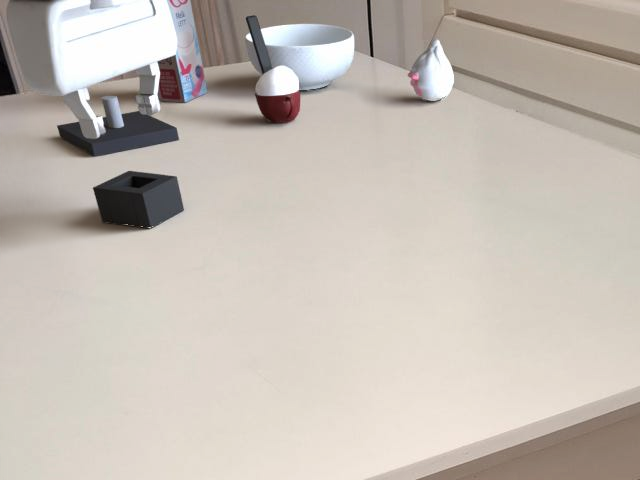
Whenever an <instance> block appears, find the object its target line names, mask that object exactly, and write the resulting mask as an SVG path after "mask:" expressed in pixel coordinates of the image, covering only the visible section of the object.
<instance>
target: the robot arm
mask: <svg viewBox="0 0 640 480" xmlns="http://www.w3.org/2000/svg"><path fill="white" fill-rule="evenodd" d="M5 12H6V14H5V15H6V22H7V27H8V30H9V31H8V32H9V35H10V38H11V42H12V46H13V49H14V52H15V55H16V59H17V63H18V65H19V68H20V71H21V73H22V76H23V79H24V80H25V83H26V84H27V85H28V86H29V87H30V88H31V89H32V90H33V91H34V92H35V93H36V94H37V95H45V96H55V97H56V96H57V97H58V96H59V97H62V99H63V102H64V104H65V105H66V106H67V107H68V109H69V110H70V112H71V113H72V114H73V115H74V117H75V118H76V119H77V120H78V122H79V123H80V127H81V130H82V134H83V135H84V137H86V138H91V139H96V138H98V137H100V136H103V135H105V133H106V130H105V128H104V126H103V124H104V123H103V119H102V117H103V116H102V115H96V114H95V112H94V111H93V109H92V107H91V106H90V104H89V103H88V101H90V100H91V99H90V98H91V97H90V94H89V90H88V87H92V86H94V85H96V84H100V83H102V82H105V81H108V80H111V79H113V78H116V77H118V76H121V75H124V74H127V73H130V72H132V71H134V72H135V75H139V89H138V90H139V93H138V94H137V95H135V96H134V97H135V100H136V101H135V102H136V104H137V108H138V111H140V113H141V114H143V115H149V116H153V115H156V114H157V113H160V111H161V105H160V101H159V100H158V96H157V93H158V86H159V78H160V71H159V66H158V61H160V60H163V59H166V58H169V57H171V56H174V55H175V54H176V50H177V36H176V32H175V28H174V24H173V20H172V17H171V13H170V10H169V6H168V3H167V0H9V1H8V2H7V5H6V10H5Z"/></svg>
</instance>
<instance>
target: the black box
mask: <svg viewBox="0 0 640 480" xmlns="http://www.w3.org/2000/svg"><path fill="white" fill-rule="evenodd" d="M92 189H93V193H94V197H95V200H96V204H97V208H98V212H99V215H100V218H101V222H102V223H105V222H108V223H107V224H112V223H116V224H115V225H119V224H128V225H134V226H143V227H152V226H155V225H157V224H158V223H160V222H162V223H164V222H165V220H166V221H167V220H170V219H171V218H173V217H174V215H175V216H176V215H178V214H180V213H182V212H184V211H185V207H184V202H183V198H182V194H181V193H182V192H181V190H180V184H179V180H178V177H177V175H170V174H169V175H168V174H161V173H160V174H159V173H153V172H143V171H134V170H128V171H125V172H123V173H121V174H118V175H116V176H114V177H112V178H111V179H108V180H106V181H103V182H101V183H100V184H98V185H95V186H93V187H92ZM163 221H164V222H163ZM160 224H161V223H160ZM158 225H159V224H158ZM158 225H157V226H158ZM134 226H133V227H134ZM155 227H156V226H155Z"/></svg>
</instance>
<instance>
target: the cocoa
mask: <svg viewBox="0 0 640 480" xmlns="http://www.w3.org/2000/svg"><path fill="white" fill-rule="evenodd" d="M245 22H246V24H247V28H248V32H249V33H250V35H251V38H252V41H253V44H254V48H255V51H256V54H257V57H258V61H259V64H260V67H261V70H262V74H263V75H261V76H260V77H259V78H258V80H257V82H256V84H255V88H254V90H255V93H254V96H255V100H256V104H257V107H258V108H259V111H260V113H261V115H262V116H263V118H264V119H265V120H267V121H268V122H270V123H274V124H275V123H277V124H280V123H281V124H282V123H289V122H291V121H294V120H295V119H296V118H297V117H298V116H299V113H300V111H301V91H299V82H298V77H297V76H296V75H295V74H294V72H293V71H292V70H291V69H289V68H287V67H286V66H277V67H275V68H272V65H271V62H270V58H269V55H268V52H267V48H266V45H265V42H264V38H263V35H262V32H261V29H262V28H261V26H260V22H259V19H258V17H257V15H255V14H254V15H247V16H246V17H245Z"/></svg>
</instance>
